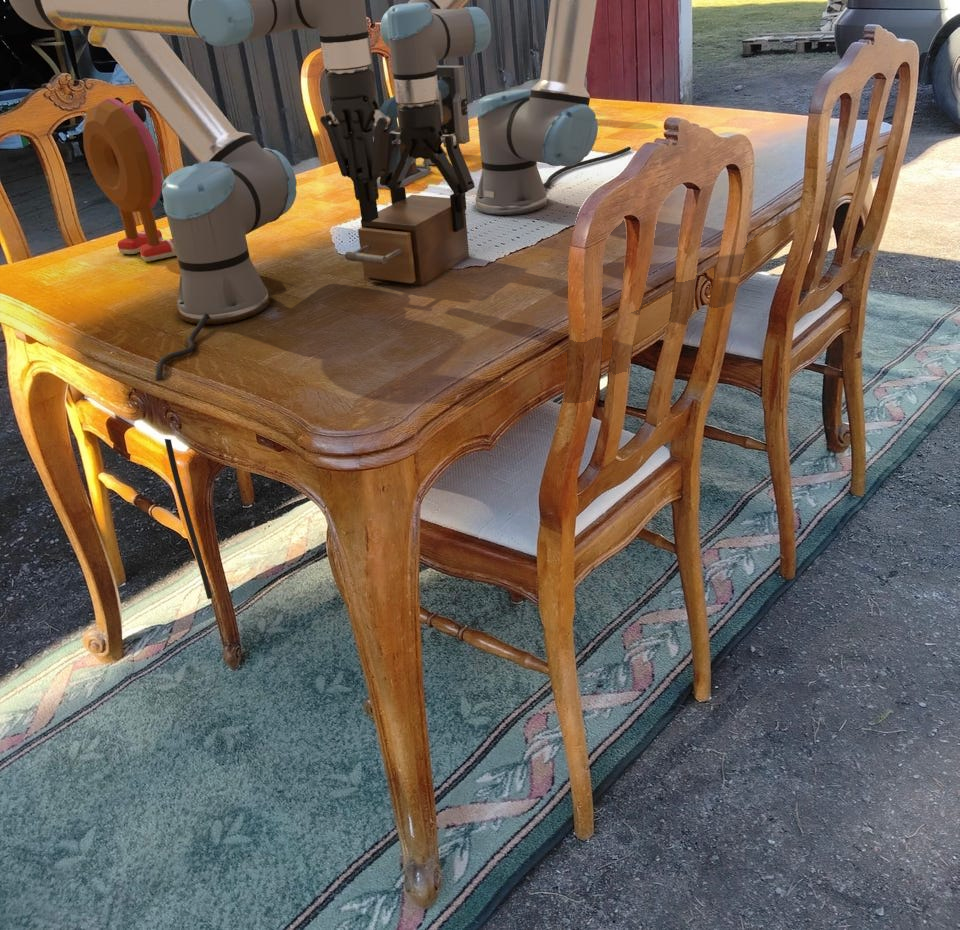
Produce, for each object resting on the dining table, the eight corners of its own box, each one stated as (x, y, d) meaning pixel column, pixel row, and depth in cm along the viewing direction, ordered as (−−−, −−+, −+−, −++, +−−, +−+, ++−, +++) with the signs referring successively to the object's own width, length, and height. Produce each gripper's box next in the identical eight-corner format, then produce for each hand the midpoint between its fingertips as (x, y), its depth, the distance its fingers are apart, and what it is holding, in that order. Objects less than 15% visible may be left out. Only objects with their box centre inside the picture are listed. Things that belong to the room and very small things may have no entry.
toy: (203, 253, 194) (168, 96, 179) (158, 268, 188) (118, 106, 172) (148, 236, 207) (111, 88, 192) (105, 250, 201) (62, 98, 186)
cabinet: (421, 285, 169) (415, 225, 163) (368, 278, 174) (360, 220, 169) (469, 256, 181) (464, 199, 175) (418, 250, 186) (411, 194, 181)
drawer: (392, 295, 163) (386, 245, 159) (344, 288, 168) (336, 239, 163) (457, 256, 178) (452, 209, 174) (410, 250, 183) (405, 205, 178)
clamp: (398, 189, 225) (386, 93, 214) (367, 187, 229) (354, 92, 218) (470, 153, 251) (464, 65, 240) (441, 151, 255) (433, 65, 244)
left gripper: (397, 64, 149) (415, 216, 161) (330, 64, 155) (352, 210, 167) (369, 73, 144) (389, 229, 156) (301, 73, 150) (325, 223, 162)
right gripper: (488, 100, 164) (496, 226, 175) (374, 96, 175) (389, 215, 186) (465, 109, 158) (476, 238, 170) (349, 105, 170) (366, 227, 181)
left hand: (370, 219), depth 161 cm, fingers closed
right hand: (430, 226), depth 178 cm, fingers closed on cabinet, 11 cm apart
